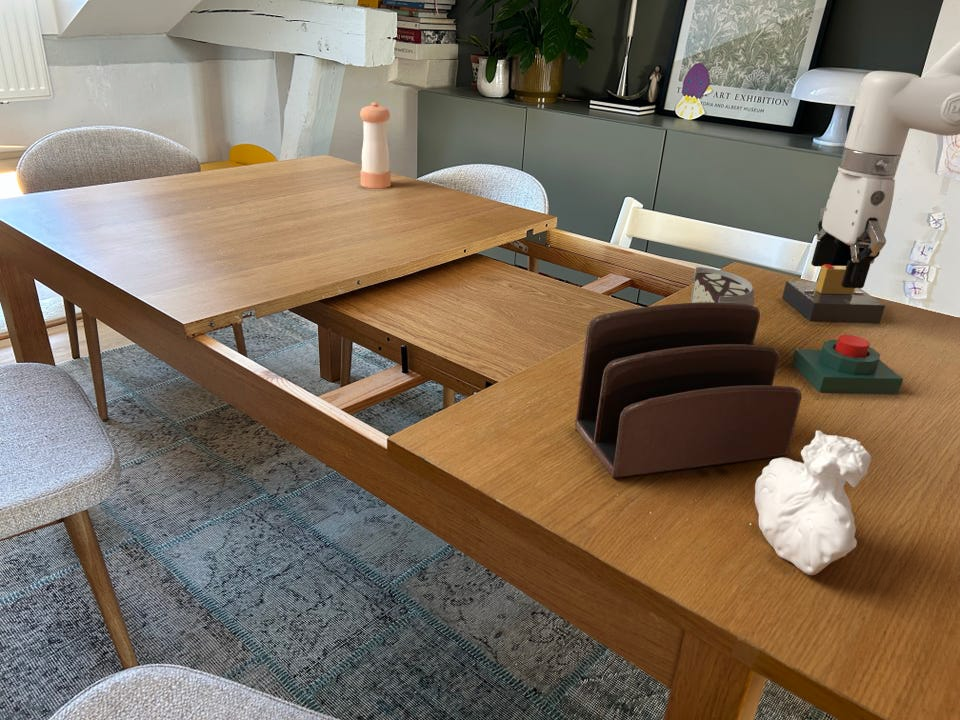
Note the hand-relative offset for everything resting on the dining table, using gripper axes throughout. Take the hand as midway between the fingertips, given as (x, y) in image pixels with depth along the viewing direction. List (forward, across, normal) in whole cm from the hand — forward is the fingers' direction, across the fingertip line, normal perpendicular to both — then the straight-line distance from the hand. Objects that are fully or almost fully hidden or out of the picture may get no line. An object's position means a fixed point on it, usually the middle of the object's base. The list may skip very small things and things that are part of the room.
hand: (835, 276), depth 113 cm
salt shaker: (+7, +76, +77) cm, 108 cm away
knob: (+3, 0, 0) cm, 3 cm away
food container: (+6, -17, +24) cm, 30 cm away
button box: (+6, -24, +10) cm, 27 cm away
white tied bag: (+6, -56, +30) cm, 63 cm away
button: (+2, -24, +10) cm, 26 cm away
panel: (+6, 0, 0) cm, 6 cm away
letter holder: (+6, -40, +36) cm, 54 cm away
